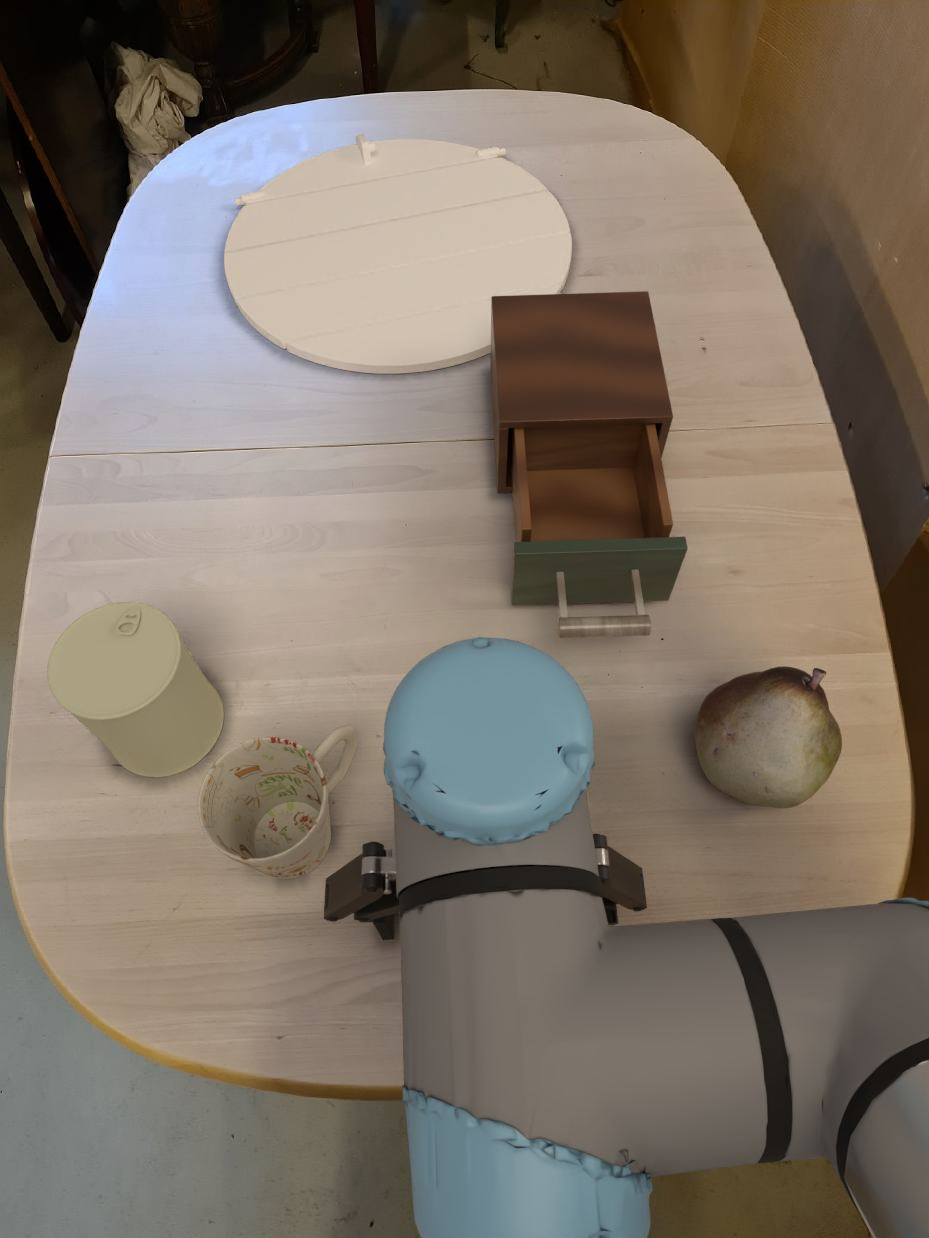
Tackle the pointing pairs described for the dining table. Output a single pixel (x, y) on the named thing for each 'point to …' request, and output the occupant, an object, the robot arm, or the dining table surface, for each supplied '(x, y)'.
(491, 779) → the robot arm
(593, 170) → the dining table surface
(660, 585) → the drawer
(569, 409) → the cabinet
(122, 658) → the can
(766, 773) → the fruit
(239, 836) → the mug
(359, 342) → the lazy susan
